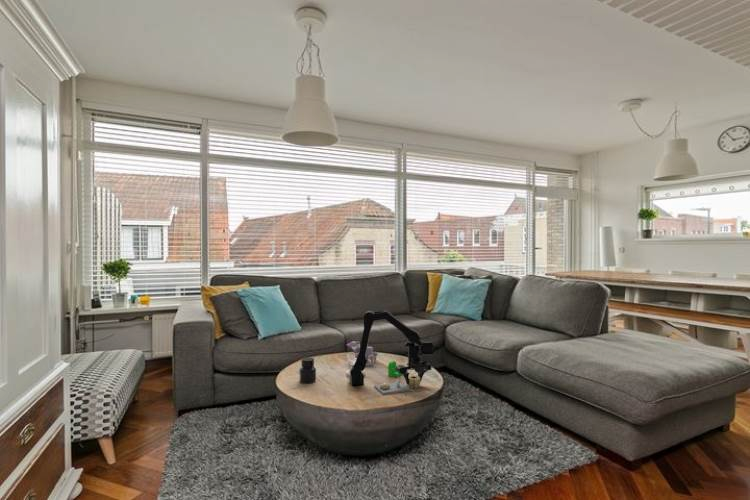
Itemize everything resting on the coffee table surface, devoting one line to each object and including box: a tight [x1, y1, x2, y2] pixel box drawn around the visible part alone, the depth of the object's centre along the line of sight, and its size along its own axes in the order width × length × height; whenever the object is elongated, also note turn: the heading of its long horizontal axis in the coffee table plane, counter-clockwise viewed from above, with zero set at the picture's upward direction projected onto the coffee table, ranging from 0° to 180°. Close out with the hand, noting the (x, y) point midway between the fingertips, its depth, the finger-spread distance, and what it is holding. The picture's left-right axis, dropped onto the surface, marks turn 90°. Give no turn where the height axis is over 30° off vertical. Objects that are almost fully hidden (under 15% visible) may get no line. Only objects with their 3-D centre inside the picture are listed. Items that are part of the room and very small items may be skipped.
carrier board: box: [373, 379, 411, 396], centre depth 212 cm, size 15×12×4 cm
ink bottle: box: [298, 356, 317, 384], centre depth 225 cm, size 10×9×12 cm
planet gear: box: [406, 375, 421, 389], centre depth 217 cm, size 6×6×4 cm
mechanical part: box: [387, 360, 403, 378], centre depth 238 cm, size 12×6×8 cm, turn 145°
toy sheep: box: [346, 340, 378, 367], centre depth 259 cm, size 20×11×14 cm, turn 70°
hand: (413, 384), depth 217 cm, fingers closed on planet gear, 6 cm apart
